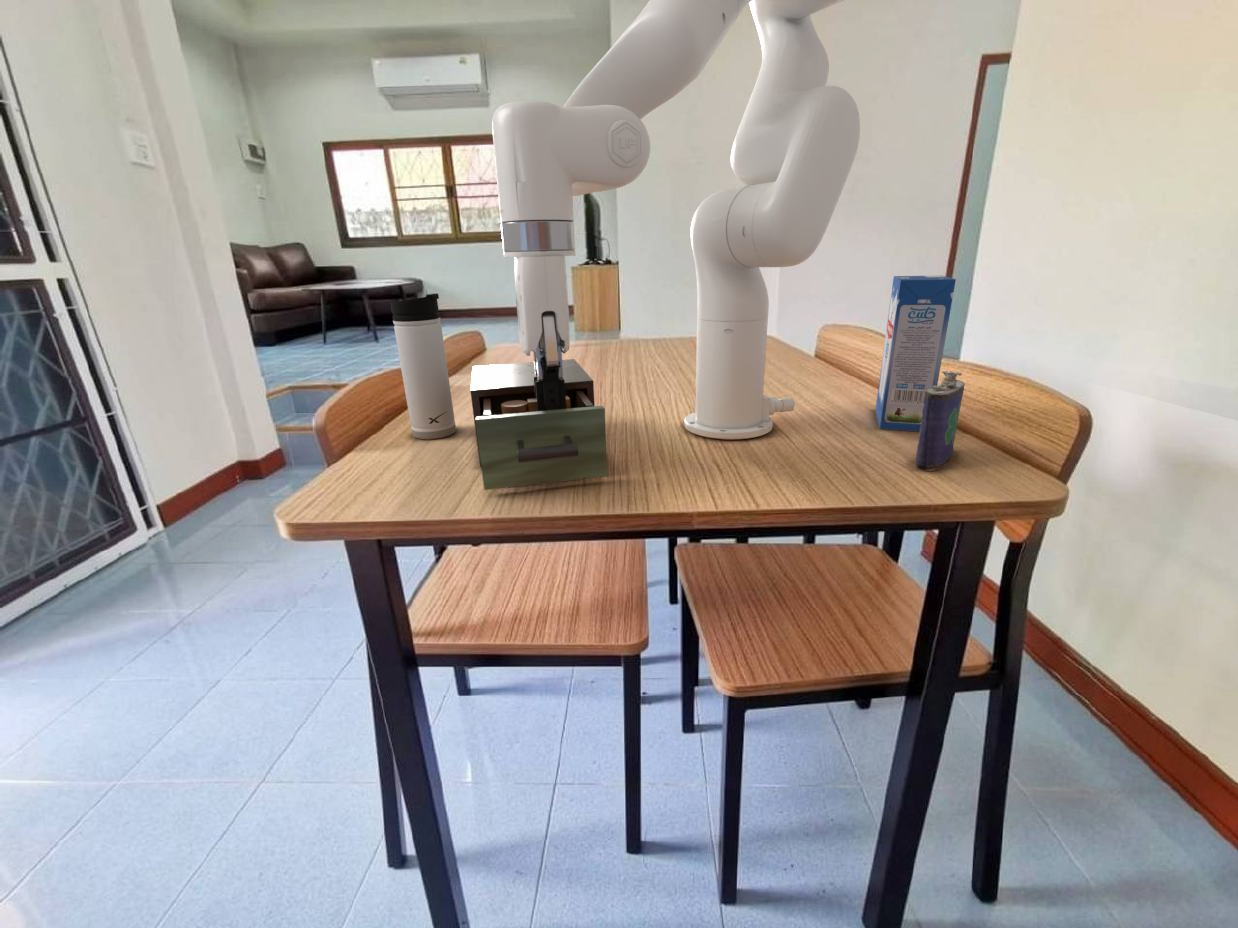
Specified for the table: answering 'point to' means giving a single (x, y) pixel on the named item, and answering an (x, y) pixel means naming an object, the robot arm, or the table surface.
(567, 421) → the drawer
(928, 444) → the flask
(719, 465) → the table surface
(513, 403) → the round-ended wooden bar
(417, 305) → the travel mug
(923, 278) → the milk carton
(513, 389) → the cabinet
